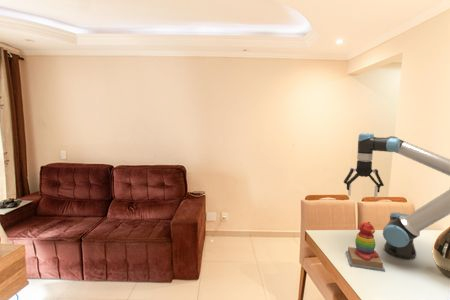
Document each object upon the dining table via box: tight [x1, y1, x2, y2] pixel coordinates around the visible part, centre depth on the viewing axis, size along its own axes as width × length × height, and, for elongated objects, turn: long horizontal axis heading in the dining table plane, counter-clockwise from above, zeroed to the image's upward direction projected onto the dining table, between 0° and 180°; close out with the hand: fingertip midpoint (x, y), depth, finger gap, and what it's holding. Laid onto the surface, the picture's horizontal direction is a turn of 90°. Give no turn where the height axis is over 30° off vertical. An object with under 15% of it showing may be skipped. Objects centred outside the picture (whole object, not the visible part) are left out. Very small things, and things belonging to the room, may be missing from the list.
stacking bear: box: [355, 221, 380, 260], centre depth 132 cm, size 11×10×18 cm
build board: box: [345, 246, 386, 273], centre depth 134 cm, size 16×14×4 cm
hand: (362, 196), depth 143 cm, fingers open, 13 cm apart
